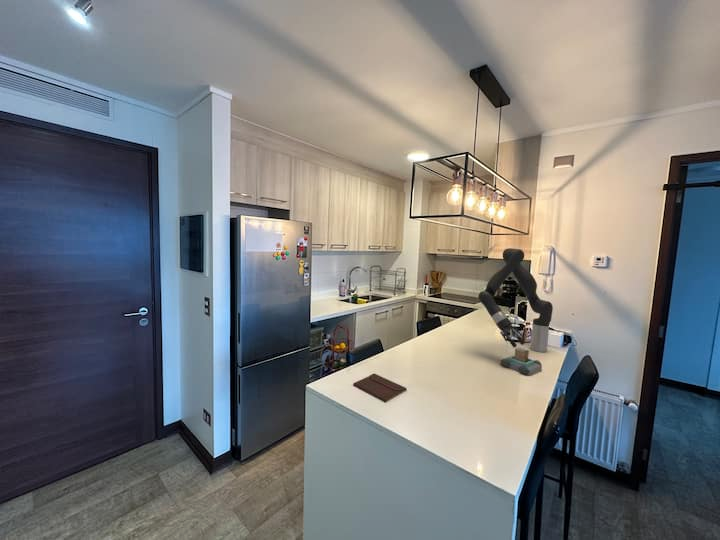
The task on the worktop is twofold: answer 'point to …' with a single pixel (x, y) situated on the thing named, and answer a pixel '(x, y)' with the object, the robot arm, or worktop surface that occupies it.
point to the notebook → (380, 387)
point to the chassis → (522, 365)
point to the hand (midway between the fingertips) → (519, 345)
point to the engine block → (521, 354)
